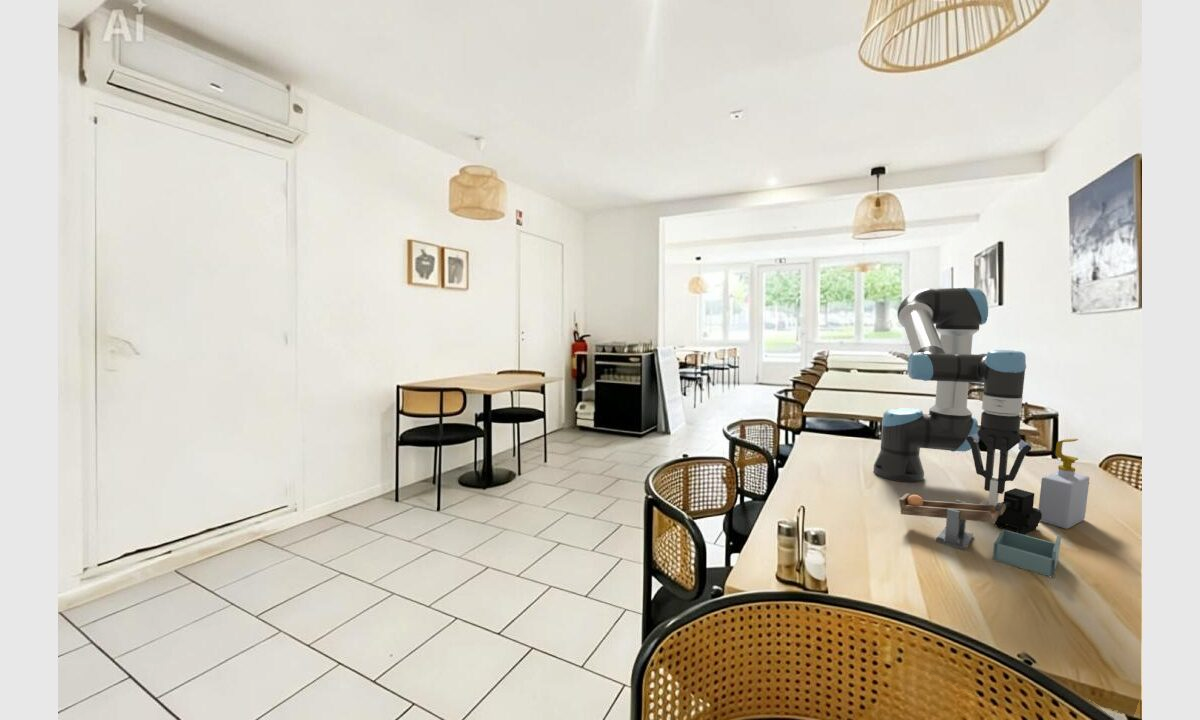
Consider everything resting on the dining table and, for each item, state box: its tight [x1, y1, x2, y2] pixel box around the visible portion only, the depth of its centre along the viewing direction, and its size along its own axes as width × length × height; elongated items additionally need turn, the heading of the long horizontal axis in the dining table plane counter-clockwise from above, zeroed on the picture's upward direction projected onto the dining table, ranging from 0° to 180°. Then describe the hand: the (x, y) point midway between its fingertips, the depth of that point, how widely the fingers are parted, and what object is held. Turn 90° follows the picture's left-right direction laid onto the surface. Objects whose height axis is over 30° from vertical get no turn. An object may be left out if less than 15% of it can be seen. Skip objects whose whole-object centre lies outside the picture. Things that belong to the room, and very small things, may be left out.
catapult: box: [899, 492, 1006, 524], centre depth 128 cm, size 20×12×4 cm, turn 42°
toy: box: [994, 488, 1042, 535], centre depth 130 cm, size 8×14×10 cm, turn 117°
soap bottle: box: [1038, 438, 1090, 529], centre depth 134 cm, size 12×7×23 cm, turn 119°
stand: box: [935, 499, 975, 552], centre depth 125 cm, size 6×10×9 cm, turn 133°
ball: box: [907, 494, 924, 506], centre depth 131 cm, size 4×4×4 cm
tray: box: [992, 528, 1062, 578], centre depth 115 cm, size 11×11×6 cm
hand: (993, 504), depth 124 cm, fingers closed
